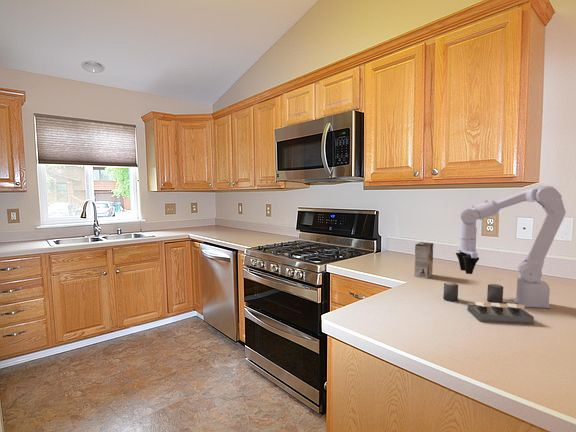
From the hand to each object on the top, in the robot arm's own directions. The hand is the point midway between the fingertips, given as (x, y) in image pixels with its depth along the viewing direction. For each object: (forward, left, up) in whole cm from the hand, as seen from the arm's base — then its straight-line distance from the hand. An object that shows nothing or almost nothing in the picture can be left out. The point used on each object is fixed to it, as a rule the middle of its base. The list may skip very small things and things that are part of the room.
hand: (466, 272), depth 133 cm
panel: (-2, +23, -9) cm, 25 cm away
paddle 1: (+3, +23, -5) cm, 24 cm away
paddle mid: (-2, +23, -5) cm, 24 cm away
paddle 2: (-7, +23, -5) cm, 25 cm away
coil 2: (-8, +7, -9) cm, 14 cm away
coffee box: (+9, -28, -10) cm, 31 cm away
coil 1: (+8, +7, -9) cm, 14 cm away
